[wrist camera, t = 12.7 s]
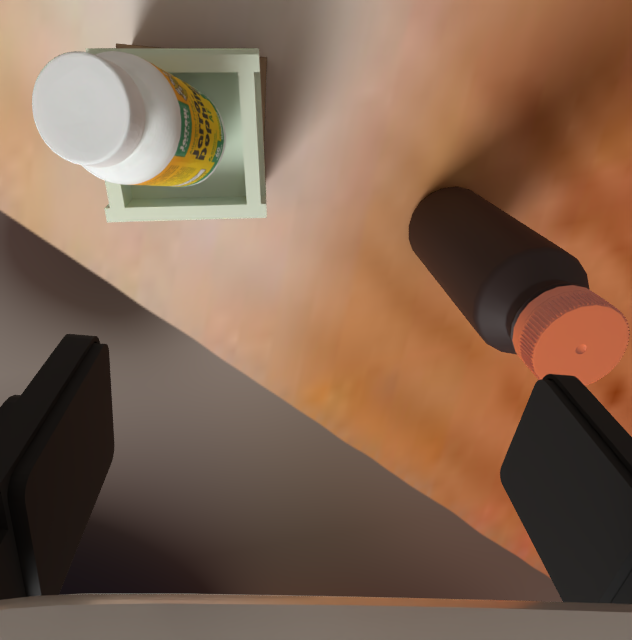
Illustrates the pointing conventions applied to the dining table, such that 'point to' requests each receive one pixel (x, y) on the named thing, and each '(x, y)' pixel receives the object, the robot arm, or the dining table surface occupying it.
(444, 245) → the vinegar
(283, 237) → the dining table surface
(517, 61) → the dining table surface
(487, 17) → the dining table surface
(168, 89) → the supplement bottle
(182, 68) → the small green shelf
